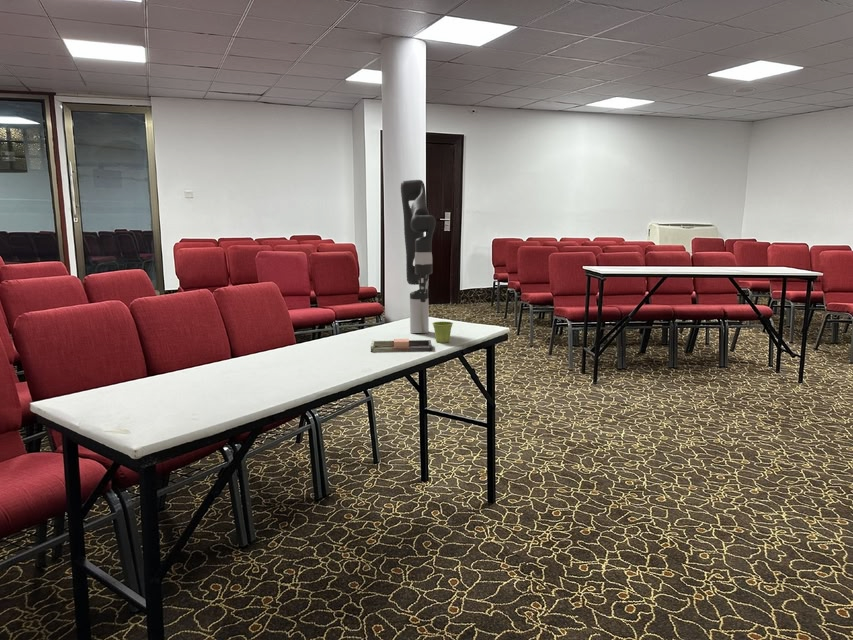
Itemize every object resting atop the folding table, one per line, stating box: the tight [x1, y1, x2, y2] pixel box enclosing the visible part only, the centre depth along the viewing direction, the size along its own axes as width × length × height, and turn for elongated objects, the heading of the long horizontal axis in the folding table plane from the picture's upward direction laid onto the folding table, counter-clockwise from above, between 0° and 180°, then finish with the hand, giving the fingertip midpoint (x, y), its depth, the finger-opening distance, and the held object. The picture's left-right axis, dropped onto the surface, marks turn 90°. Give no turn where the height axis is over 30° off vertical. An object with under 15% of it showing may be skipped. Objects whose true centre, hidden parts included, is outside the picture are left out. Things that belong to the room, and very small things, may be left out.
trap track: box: [370, 339, 433, 353], centre depth 254 cm, size 11×26×2 cm, turn 92°
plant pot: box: [431, 321, 454, 344], centre depth 268 cm, size 9×9×9 cm
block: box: [393, 338, 410, 348], centre depth 254 cm, size 6×6×4 cm
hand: (423, 300), depth 251 cm, fingers open, 8 cm apart
